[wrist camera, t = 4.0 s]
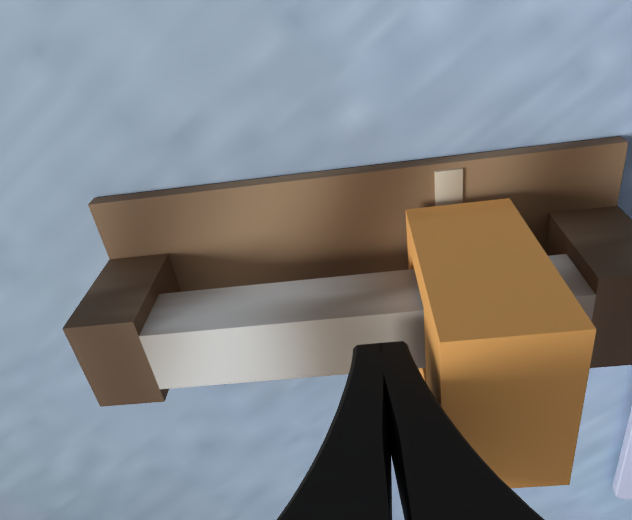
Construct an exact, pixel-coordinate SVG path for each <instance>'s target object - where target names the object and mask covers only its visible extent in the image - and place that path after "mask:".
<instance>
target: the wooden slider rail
mask: <svg viewBox="0 0 632 520" xmlns="http://www.w3.org/2000/svg"><path fill="white" fill-rule="evenodd" d="M627 147H628V141H626V140H625V139H624V138H622V137H621V136H617V137H609V138H600V139H592V140H583V141H574V142H566V143H557V144H549V145H540V146H532V147H523V148H515V149H506V150H498V151H489V152H481V153H472V154H464V155H455V156H447V157H438V158H430V159H421V160H413V161H404V162H396V163H387V164H379V165H370V166H361V167H353V168H344V169H336V170H327V171H319V172H310V173H302V174H293V175H285V176H276V177H268V178H259V179H251V180H242V181H234V182H225V183H217V184H208V185H200V186H191V187H183V188H174V189H166V190H157V191H149V192H140V193H131V194H123V195H114V196H106V197H97V198H94V199H93V200H92V201H91V202H90V203H89V204H88V205H89V208H90V210H91V213H92V216H93V218H94V221H95V223H96V226H97V228H98V231H99V233H100V236H101V238H102V241H103V243H104V246H105V248H106V251H107V254H108V256H109V259H110V260H109V261H108V263H107V264H106V266H105V267H104V269H103V270H102V272H101V273H100V274H99V276H98V277H97V279H96V280H95V282H94V283H93V285H92V286H91V288H90V289H89V291H88V292H87V293H86V295H85V296H84V298H83V299H82V301H81V302H80V304H79V305H78V307H77V308H76V310H75V311H74V312H73V314H72V315H71V317H70V318H69V320H68V321H67V323H66V324H65V326H64V327H63V331H64V333H65V335H66V337H67V339H68V341H69V343H70V345H71V347H72V349H73V351H74V353H75V355H76V357H77V359H78V362H79V364H80V366H81V368H82V370H83V372H84V374H85V376H86V378H87V380H88V382H89V384H90V386H91V388H92V390H93V392H94V394H95V396H96V398H97V401H98V403H99V405H100V406H113V405H125V404H138V403H151V402H164V401H165V399H166V396H167V393H168V390H169V388H182V387H194V386H206V385H219V384H231V383H243V382H256V381H268V380H281V379H293V378H305V377H318V376H330V375H342V374H349V371H350V367H351V362H352V356H353V348H354V347H355V346H356V345H362V344H373V343H385V342H396V341H404V342H405V343H406V344H408V347H409V350H410V353H411V355H412V357H413V359H414V362H415V364H416V366H417V368H426V358H425V332H424V307H423V303H422V299H421V295H420V291H419V287H418V282H417V278H416V274H415V270H414V269H409V266H408V248H407V229H406V211H405V209H414V208H423V207H433V206H442V205H451V204H460V203H469V202H478V201H488V200H497V199H506V198H510V200H511V201H512V203H513V204H514V206H515V207H516V209H517V210H518V212H519V213H520V215H521V216H522V218H523V219H524V221H525V222H526V224H527V225H528V227H529V228H530V230H531V231H532V233H533V234H534V236H535V237H536V239H537V240H538V242H539V243H540V245H541V246H542V248H543V249H544V251H545V252H546V254H547V255H548V257H549V258H550V260H551V261H552V263H553V264H554V266H555V267H556V269H557V270H558V272H559V273H560V275H561V276H562V278H563V280H564V281H565V283H566V284H567V286H568V287H569V289H570V290H571V292H572V293H573V295H574V296H575V298H576V299H577V301H578V302H579V304H580V305H581V307H582V308H583V310H584V311H585V313H586V314H587V316H588V317H589V319H590V320H591V322H592V323H593V325H594V326H595V328H596V335H595V340H594V346H593V352H592V358H591V363H590V368H596V367H608V366H621V365H632V219H630V218H629V217H628V216H627V215H626V214H625V213H624V212H623V211H622V210H621V209H620V208H619V207H618V206H617V204H618V198H619V193H620V187H621V181H622V175H623V170H624V164H625V158H626V152H627Z"/></svg>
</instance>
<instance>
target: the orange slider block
mask: <svg viewBox="0 0 632 520" xmlns="http://www.w3.org/2000/svg"><path fill="white" fill-rule="evenodd" d="M405 211H406V229H407V248H408V266H409V269H414V270H415V274H416V278H417V282H418V287H419V291H420V295H421V299H422V303H423V307H424V332H425V358H426V368H419V371H420V373H421V375H422V377H423V379H424V380H425V382H426V384H427V385H428V387H429V389H430V390H431V392H432V393H433V395H434V396H435V398H436V399H437V401H438V403H439V404H440V406H441V407H442V409H443V410H444V411H445V413H446V414H447V416H448V417H449V418H450V420H451V421H452V422H453V424H454V425H455V427H456V428H457V429H458V431H459V432H460V433H461V434H462V436H463V437H464V438H465V439H466V441H467V442H468V443H469V444H470V446H471V447H472V448H473V449H474V450H475V451H476V452H477V454H478V455H479V456H480V457H481V458H482V459H483V461H484V462H485V463H486V464H487V465H488V466H489V467H490V468H491V469H492V470H493V471H494V472H495V473H496V475H497V476H498V477H499V478H500V479H501V480H502V481H503V482H504V483H505V484H507V485H508V486H509V487H510V488H521V487H538V486H555V485H569V484H570V478H571V472H572V466H573V461H574V455H575V449H576V443H577V438H578V432H579V426H580V421H581V415H582V409H583V403H584V398H585V392H586V386H587V380H588V375H589V369H590V363H591V358H592V352H593V346H594V340H595V335H596V328H595V326H594V325H593V323H592V322H591V320H590V319H589V317H588V316H587V314H586V313H585V311H584V310H583V308H582V307H581V305H580V304H579V302H578V301H577V299H576V298H575V296H574V295H573V293H572V292H571V290H570V289H569V287H568V286H567V284H566V283H565V281H564V280H563V278H562V276H561V275H560V273H559V272H558V270H557V269H556V267H555V266H554V264H553V263H552V261H551V260H550V258H549V257H548V255H547V254H546V252H545V251H544V249H543V248H542V246H541V245H540V243H539V242H538V240H537V239H536V237H535V236H534V234H533V233H532V231H531V230H530V228H529V227H528V225H527V224H526V222H525V221H524V219H523V218H522V216H521V215H520V213H519V212H518V210H517V209H516V207H515V206H514V204H513V203H512V201H511V200H510V198H506V199H497V200H488V201H478V202H469V203H460V204H451V205H442V206H433V207H423V208H414V209H405Z"/></svg>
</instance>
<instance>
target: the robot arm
mask: <svg viewBox="0 0 632 520" xmlns="http://www.w3.org/2000/svg"><path fill="white" fill-rule="evenodd" d="M391 456H392V460H393V465H394V470H395V475H396V480H397V485H398V490H399V494H400V499H401V504H402V509H403V514H404V519H405V520H544V519H543V518H542V517H541V516H540V515H538V514H537V513H536V512H535V511H534V510H533V509H532V508H530V507H529V506H528V505H527V504H526V503H525V502H524V501H523V500H522V499H521V498H520V497H519V496H518V495H517V494H516V493H515V492H514V491H513V490H512V489H511V488H510V487H509V486H508V485H507V484H505V483H504V482H503V481H502V480H501V479H500V478H499V477H498V476H497V475H496V473H495V472H494V471H493V470H492V469H491V468H490V467H489V466H488V465H487V464H486V463H485V462H484V461H483V459H482V458H481V457H480V456H479V455H478V454H477V452H476V451H475V450H474V449H473V448H472V447H471V446H470V444H469V443H468V442H467V441H466V439H465V438H464V437H463V436H462V434H461V433H460V432H459V431H458V429H457V428H456V427H455V425H454V424H453V422H452V421H451V420H450V418H449V417H448V416H447V414H446V413H445V411H444V410H443V409H442V407H441V406H440V404H439V403H438V401H437V399H436V398H435V396H434V395H433V393H432V392H431V390H430V389H429V387H428V385H427V384H426V382H425V380H424V379H423V377H422V375H421V373H420V371H419V369H418V368H417V366H416V364H415V362H414V359H413V357H412V355H411V353H410V350H409V347H408V344H406V343H405V342H404V341H396V342H385V343H373V344H362V345H356V346H355V347H354V348H353V356H352V362H351V367H350V371H349V375H348V379H347V382H346V386H345V389H344V392H343V394H342V397H341V400H340V403H339V406H338V409H337V412H336V414H335V416H334V419H333V421H332V423H331V426H330V428H329V431H328V433H327V435H326V437H325V440H324V442H323V444H322V446H321V448H320V450H319V452H318V454H317V456H316V458H315V460H314V461H313V463H312V465H311V467H310V469H309V471H308V472H307V474H306V476H305V477H304V479H303V481H302V482H301V484H300V486H299V487H298V489H297V491H296V492H295V494H294V495H293V497H292V499H291V500H290V502H289V503H288V505H287V506H286V507H285V509H284V510H283V512H282V513H281V514H280V516H279V517H278V519H277V520H392V482H391ZM612 488H613V491H614V493H615V495H616V496H617V497H618V498H621V499H632V407H631V411H630V415H629V420H628V424H627V428H626V432H625V436H624V440H623V444H622V449H621V453H620V457H619V461H618V465H617V469H616V473H615V478H614V482H613V486H612Z"/></svg>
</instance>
